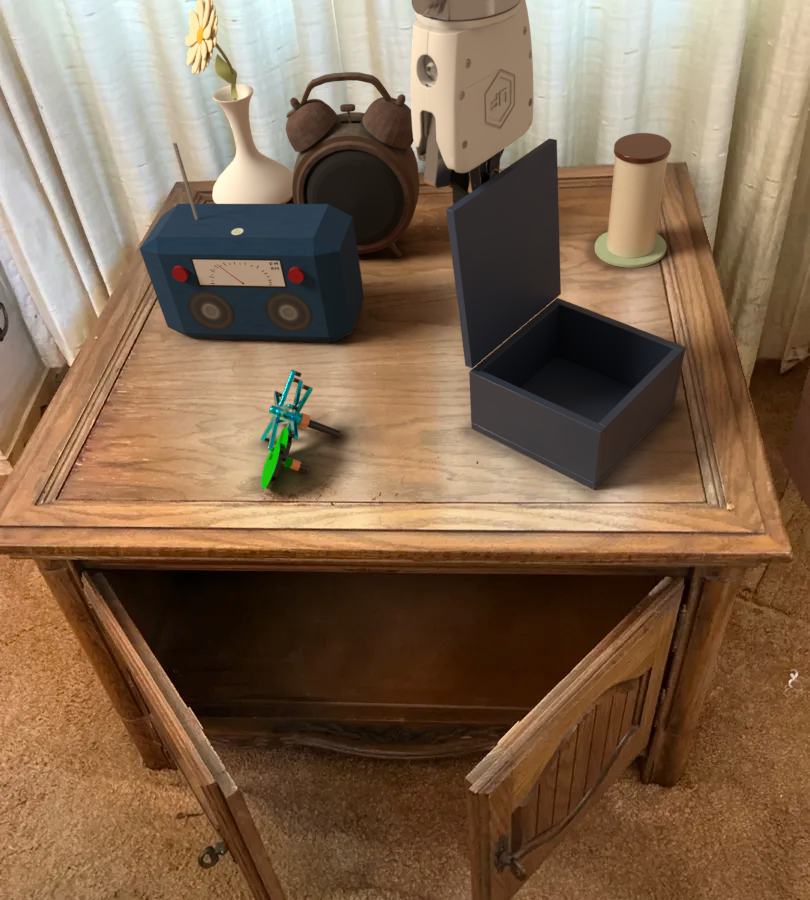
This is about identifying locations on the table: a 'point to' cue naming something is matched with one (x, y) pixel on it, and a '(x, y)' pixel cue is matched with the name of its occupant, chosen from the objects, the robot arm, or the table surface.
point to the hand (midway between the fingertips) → (474, 228)
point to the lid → (506, 251)
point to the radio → (255, 270)
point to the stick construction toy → (288, 430)
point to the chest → (575, 390)
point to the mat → (630, 262)
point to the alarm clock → (357, 161)
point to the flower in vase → (235, 123)
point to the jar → (636, 193)
